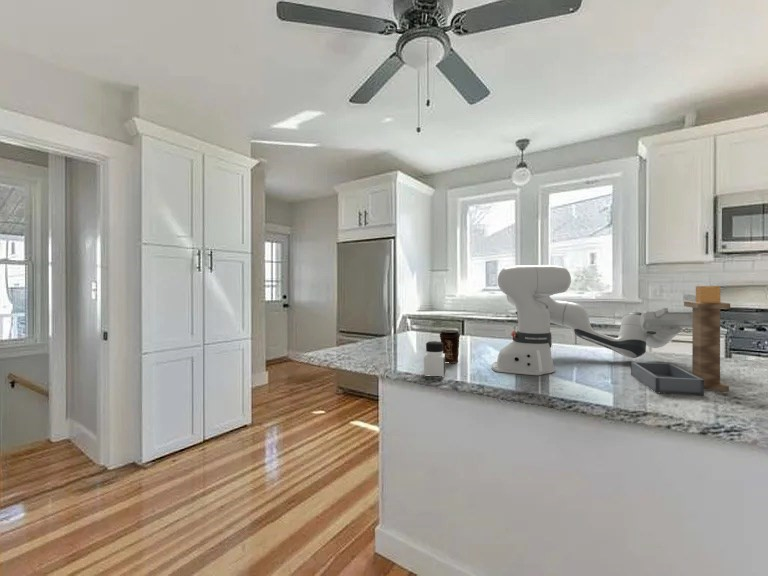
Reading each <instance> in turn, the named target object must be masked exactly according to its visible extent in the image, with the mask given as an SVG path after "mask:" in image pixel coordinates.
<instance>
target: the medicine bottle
mask: <svg viewBox="0 0 768 576" xmlns="http://www.w3.org/2000/svg"><path fill="white" fill-rule="evenodd" d="M425 348H426V349H425V352H426V353H425V354H424V357H423V376H424V375H430V376H444V377H445V376H446V363H445V354H444V353H443V343H442V342H441V341H438V340H430V341H426V344H425Z"/></svg>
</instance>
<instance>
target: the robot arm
mask: <svg viewBox="0 0 768 576" xmlns="http://www.w3.org/2000/svg"><path fill="white" fill-rule="evenodd" d="M571 282H572V277H571V274H570V271H569V269H567V268H566V267H565V266H560V265H553V264H540V265H539V264H535V265H533V264H532V265H531V264H530V265H527V264H526V265H524V264H523V265H512V266H508V267H503V268H502V269H501V270H500V271H499V273H498V275H497V285H498V287H499V289H500V291H501V292H502V293H504V294H505V295H506V299H507V301H508V302H509V304H510V305H512V306H514V307H515V309H516V311H515V315H516V316H517V317H516V318H517V324H518V327H517V328H518V329H517V330H518V331H515V330H512V331H511V332H510V335H511V336H512V341H511V342H510V343H508V344H507V345H506V346H504V347H503V348H502V349H500V350H499V353H498V355H497V360H496V361H495V362H493V363H492V364H491V370H493V371H495V372H497V373H506V374H508V373H509V374H520V375H528V376H542V375H545V374H551V373H554V372H556V368H555V365H554V361H553V357H552V344H553V342H552V340H553V337H552V332H551V324H555V325H556V326H557V325H558V326H561V327H566V328H569V329H571V330H572V331H573V332H574V335H575V336H577V337H578V338H581V339H583V340H585V341H587V342H590V343H592V344H595V345H598V346H601V347H603V348H606V349H609V350H612V351H614V352H616V353H617V354H620V355H622V356H624V357H627V358H631V359H637V358H639V357H641V356H642V355H645V353H646V351H647V347H648V348H651V349H659V348H663V347H664V346H666V345H667V344H669V343H670V342H671V341H672V340H673V339H674V338H675V337H676V336H677V335H678V334H679V333H681V332H682V329H684V328H685V329H693V309H692V311H688V310H687V311H682V310H681V311H677V310H675V311H674V310H671V311H670V310H669V308H668V307H662V308H661V309H659V310H656V311H655V310H654V311H653V310H651V311H649V310H647V311H642V312H640V311H639V312H638V311H636V312H635V311H634V312H629V313H627V314H625V315H623V316H622V319H621V323H620V327H619V332H618V336H617V338H616V337H612V336H609V335H607V334H604V333H601V332H598V331H596V330H594V329H593V327H592V326H591V323H590V318H589V313H588V311H587V310H586V308H585V307H584V306H583V305H582V304H579V303H577V302H571V301H565V300H557V299H556V300H555V299H553V298H552V297H551V296H553V295H556V294H562V293H566V291H567V290H568V289H569V288H570V285H571Z"/></svg>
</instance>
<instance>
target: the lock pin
mask: <svg viewBox="0 0 768 576" xmlns="http://www.w3.org/2000/svg"><path fill="white" fill-rule="evenodd" d="M683 301H686V302H697V303H720V302H721V285H711V286H710V285H704V286H702V285H697V286H695V294H693V293H684V294H683Z"/></svg>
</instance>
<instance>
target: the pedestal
mask: <svg viewBox="0 0 768 576" xmlns="http://www.w3.org/2000/svg"><path fill="white" fill-rule="evenodd" d="M683 307H686V308H692V310H693V311H692V312H693V328H692V334H691V335H692V338H691V339H692V346H691V347H692V351H691V352H692V357H691V359H692V360H691V361H692V362H691V363H692V369H691V371H692V373H691V374H693V375H695V376H697V377H699V378H701V379H703V380H704V391H718V390H720V391H719V392H721V391H723V392H729V391H730V386H729V385H728V384H725V383H723V382H721V309H723V310H725V309H727V310H728V309H731V303H730V302H721V301H720V303H697V302H695V301H683Z"/></svg>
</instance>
